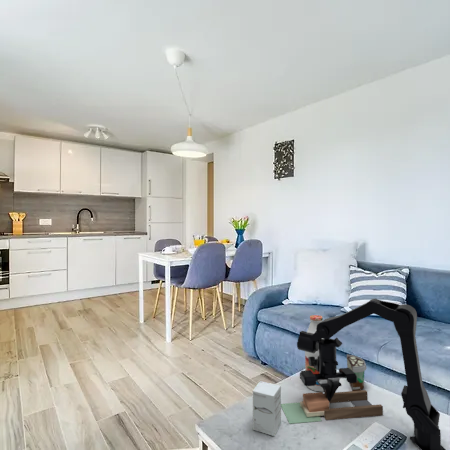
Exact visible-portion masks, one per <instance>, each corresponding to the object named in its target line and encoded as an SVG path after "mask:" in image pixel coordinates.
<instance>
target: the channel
mask: <svg viewBox="0 0 450 450" xmlns="http://www.w3.org/2000/svg"><path fill="white" fill-rule="evenodd" d="M322 393H323V394H324V396H325V393H324V392H322ZM368 395H369V394H368V390H366V389H362V390H361V391H352V390H349V391H338V392H337V391H336V392H335V393H334V395H333V397H332V399H331V401H330V402H329V404H333V403H335V404H336V403H347V402H349V403H350V402H351V401H361V400H368V398H369V397H368ZM325 397H326V396H325ZM368 401H369V400H368ZM378 416H384V406H383V405H382V404H372V405H367V406H344V407H334V408H333V407H329V409H324V420H325V421H331V420H332V421H333V420H343V419H355V418H365V417H366V418H367V417H368V418H369V417H378Z"/></svg>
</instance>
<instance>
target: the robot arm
mask: <svg viewBox="0 0 450 450" xmlns="http://www.w3.org/2000/svg"><path fill="white" fill-rule="evenodd" d="M372 315H376V316H378V317H381V318H382V319H384V320H385V321H389V322H392V323H393V326H394V328H395V331H396V332H397V335H398V336H399V339H400V347H401V353H402V359H403V366H404V373H405V379H406V385H405V384H404V385H403V388H402V391H401V394H400V395H401V398H402V403H403V405H402V408H403V409H405V412H406V414H407V416H409V417H410V418H411V421H412V422H413V436H409V440H410V441H411V442H412V443H414V445H415V446H416V447H418V448H419V449H420V450H447V449H446V448H445V447H444V446H442V443H441V442H442V441H441V438H442V437H441V429H440V427H439V425H440V424H439V423H440V415H441V413H440V412H439V410H437V409H436V408H435V407H434V405H433V404H432V402H431V400H430V397H429V394H428V391H427V389H426V387H425V385H424V382H423V377H422V372H421V365H420V359H419V350H418V346H417V345H418V344H417V338H416V333H417V332H416V331H417V323H418V320H417V318H418V314H417V311H416V308H414V307H413V306H412V305H409V304H406V303H403V304H398V303H395V302H390V301H384V300H381V299H377V298H371V299H370V300H369V301H367V302H365V303H364V304H361V305H359V306H357V307H355V308H353V309H351V310H349V311H347V312H345V313H343V314H340V315H335V316H332V317H327V318H325V319H323V320H322V322H320V323H319V324H318V325H317V328H316V330H317V331H316V332H315V333H314V334H313V333H308V332H307V331H305V330H301V331H299V335H298V338H297V341H296V346H297V347H296V348H297V350H299V351H302V352H305V351H306V352H310V353H315V352H316V351H318V350H319V356H318V359H315V357H308V362H309V366H314V368H316V370H317V371H318V372H319V374H313V373H312V371H311V370H307V371H305V370H301V371H300V373H299V379H300V381H301V382H302V384H303V385H304V386H305V387H307V386H315V384H316V381H317V382H318V383H319V385H320V386H321V387H322V388H323V390H324V391H323V393H325V396H326V398H327V399H328V401H329V402H330V401H331V399H332V397H333V395H334V393H335V392H337V390H338V389H339V388H340V387H342V383H341V382H340V379H346V382H347V383H357V375H356V374H355V373H354V372H353V371H352V370H351V369H350V368H347V367H340V368H339V369H337V366H339V362H338V361H337V348H340V347H341V346H342V345H343V342H342V341H341V340H339V338H338V337H336V338H332V337H334V336H335V335H336V334H338V333H339V332H340V331H341V330H342V329H344V328H345V327H348V326H350V325H352V324H355V323H357V322H359V321H362V320H363V319H366V318H368V317H369V316H372ZM322 338H323V339H322ZM337 370H338V371H337Z"/></svg>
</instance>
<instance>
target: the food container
mask: <svg viewBox="0 0 450 450" xmlns="http://www.w3.org/2000/svg"><path fill="white" fill-rule="evenodd" d="M346 362H347V363H346V366H347V367H346V368H350V369H351V370H352V371H353V372H354V373H355V374H356V375H357V383H349V382H348V383H349V386H350V388H351V391H361V390H364V387H365V384H364V383H365V371H367V364H366V361H365V360H364V359H363V358H361V357H359V356H357V355H353V354H346Z"/></svg>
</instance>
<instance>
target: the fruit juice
mask: <svg viewBox="0 0 450 450" xmlns="http://www.w3.org/2000/svg"><path fill="white" fill-rule="evenodd" d="M323 320H324V317H323V316H322V315H320V314H311V315H310V316H309V321H310V323H309V325H308V328H307V331H306V332H308V333H313V334H314V333H315V332H316V331H317V330H316V328H317V325H318V324H319V323H320V322H322V321H323ZM322 339H323V338H322ZM318 356H319V350H318V351H316V352H315V353H310V352H306V351H304V363H305V364H304V366H305V370H304V371H307V370H311V371H312V373H313V374H319V372H318V371H317V370H316V368H314V366H309V362H308V357H315V359H318ZM306 387H307V388H308V389H309V390H311V391H315V392H324V390H323V388H322V387H321V386H320V385H319V383H318V382H317V381H316V384H315V386H306Z"/></svg>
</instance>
